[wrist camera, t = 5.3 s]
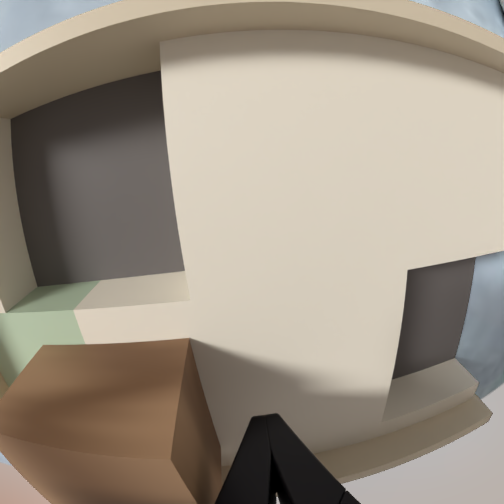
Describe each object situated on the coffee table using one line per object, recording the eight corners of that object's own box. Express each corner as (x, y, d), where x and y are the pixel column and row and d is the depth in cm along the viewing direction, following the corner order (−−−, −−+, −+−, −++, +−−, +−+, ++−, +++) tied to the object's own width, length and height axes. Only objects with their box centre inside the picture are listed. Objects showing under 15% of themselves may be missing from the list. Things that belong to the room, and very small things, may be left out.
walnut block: (189, 337, 8) (170, 459, 4) (220, 447, 9) (223, 540, 5) (43, 344, 8) (-19, 427, 4) (99, 445, 9) (75, 523, 5)
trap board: (470, 71, 8) (537, 58, 5) (449, 377, 13) (488, 421, 9) (-27, 126, 7) (-93, 127, 4) (65, 425, 12) (41, 479, 8)
